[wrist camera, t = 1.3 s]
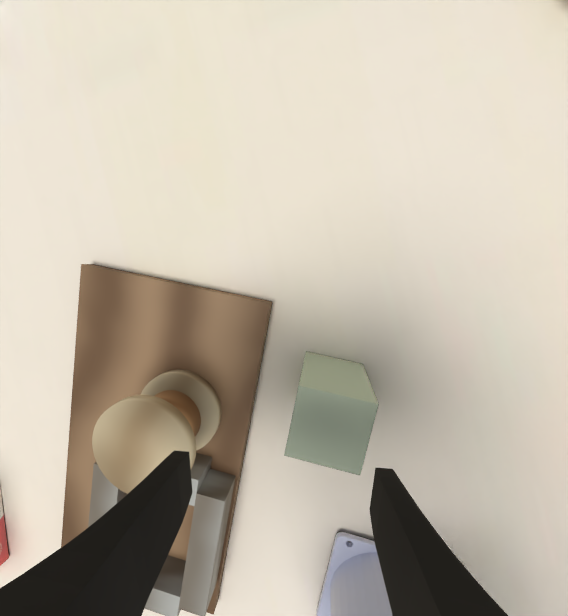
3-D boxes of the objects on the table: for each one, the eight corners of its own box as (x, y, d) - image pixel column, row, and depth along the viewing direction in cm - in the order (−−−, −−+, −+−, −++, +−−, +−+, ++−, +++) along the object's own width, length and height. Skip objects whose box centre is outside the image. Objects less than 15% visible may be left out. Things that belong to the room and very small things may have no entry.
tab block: (362, 363, 20) (378, 404, 14) (349, 416, 21) (360, 475, 15) (306, 351, 21) (298, 385, 15) (295, 403, 21) (284, 455, 15)
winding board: (272, 301, 20) (251, 315, 14) (217, 600, 25) (184, 705, 19) (92, 264, 22) (6, 263, 16) (70, 551, 26) (-5, 634, 20)
